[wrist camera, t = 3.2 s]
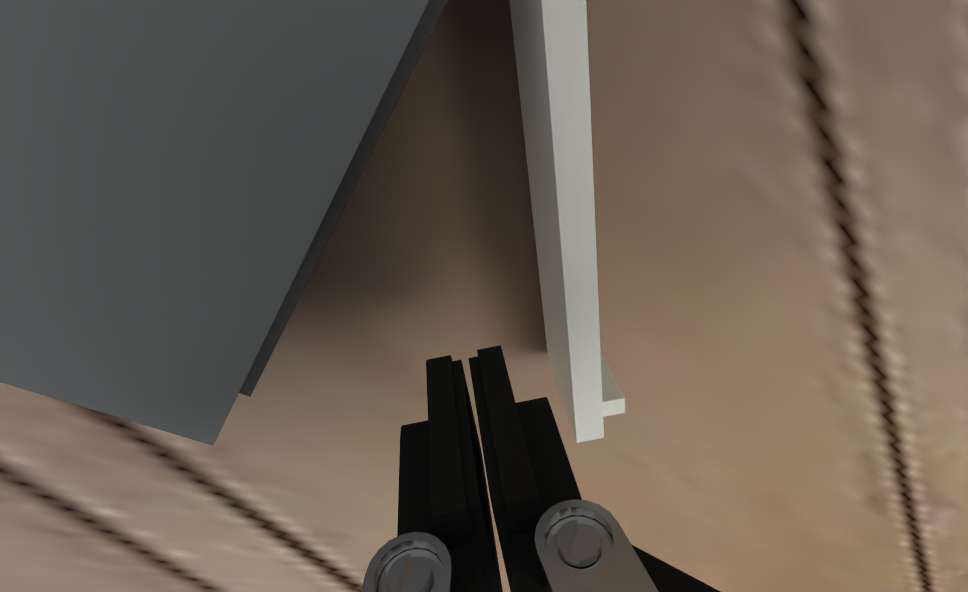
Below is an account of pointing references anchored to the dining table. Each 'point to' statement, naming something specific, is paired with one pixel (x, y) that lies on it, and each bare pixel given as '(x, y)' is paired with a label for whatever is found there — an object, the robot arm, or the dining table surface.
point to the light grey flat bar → (564, 202)
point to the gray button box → (179, 186)
